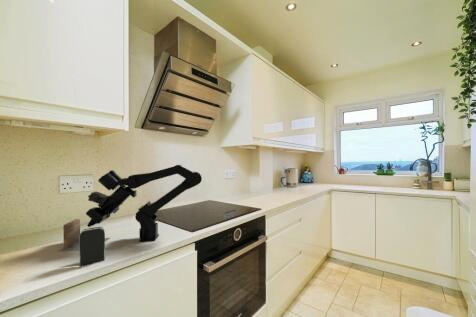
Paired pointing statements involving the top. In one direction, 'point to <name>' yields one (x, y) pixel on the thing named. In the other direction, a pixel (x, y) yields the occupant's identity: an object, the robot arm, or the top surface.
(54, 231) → the top surface
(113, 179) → the robot arm
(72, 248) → the mat
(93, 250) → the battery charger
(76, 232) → the board
